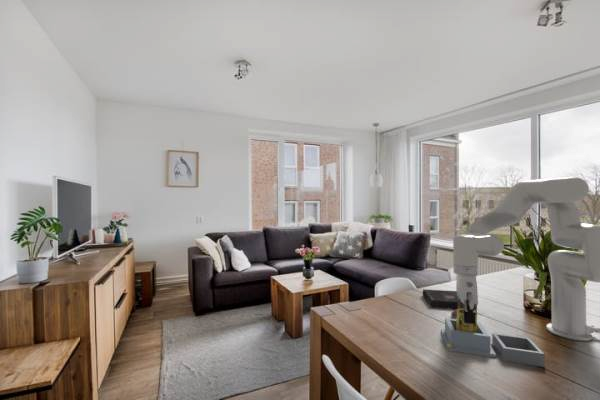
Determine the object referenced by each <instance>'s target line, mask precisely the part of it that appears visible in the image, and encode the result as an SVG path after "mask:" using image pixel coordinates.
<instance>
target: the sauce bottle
mask: <svg viewBox="0 0 600 400" xmlns="http://www.w3.org/2000/svg"><path fill="white" fill-rule="evenodd" d="M465 302H467V301H465ZM467 306H468V305H467ZM474 308H475V324H470V323H465V322H464V311H465V308H464V304H463V303H462V302H461V301H460V300H459V301H458V303H457V317H456V319H457V323H456V330H457V331H465V332H472V333H477V322H478V305H475V304H474Z"/></svg>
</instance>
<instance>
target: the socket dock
mask: <svg viewBox="0 0 600 400" xmlns="http://www.w3.org/2000/svg"><path fill="white" fill-rule="evenodd" d="M456 323H457V318H448V317H445V318H444V329H440V334H441V335H442V338H443V340H444V343H445V346H446V349H447V351H451V352H456V353H457V352H458V353H465V354H472V355H477V356H483V357H489V358H497V354H496V353H495V351H494V349H493V348H492V345H491V335H490V334H489V333H488V331H487V330H486V328H485V327H484V326H483V324H482V323H481V322H480V321H477V333H472V332H465V331H457V330H456Z"/></svg>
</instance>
